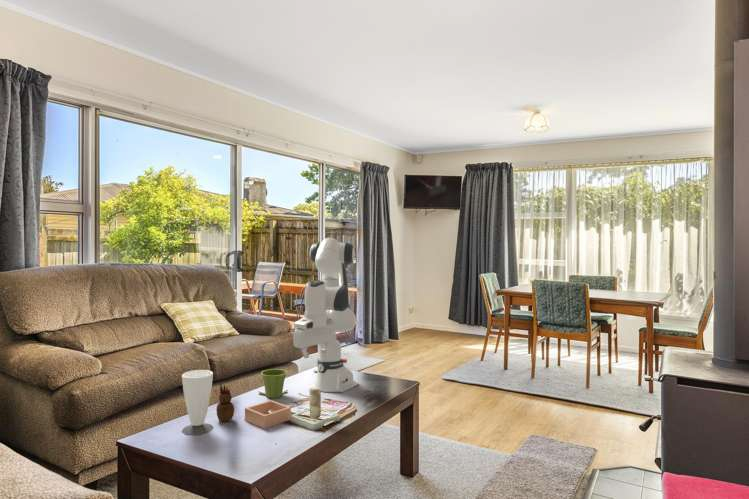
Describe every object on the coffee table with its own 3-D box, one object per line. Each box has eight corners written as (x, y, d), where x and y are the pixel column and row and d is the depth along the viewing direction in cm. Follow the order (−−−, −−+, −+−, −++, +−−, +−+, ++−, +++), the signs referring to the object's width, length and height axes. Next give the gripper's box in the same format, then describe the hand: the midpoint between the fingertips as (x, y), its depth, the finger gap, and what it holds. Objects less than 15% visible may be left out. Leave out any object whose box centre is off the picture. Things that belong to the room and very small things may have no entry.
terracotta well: (271, 411, 210) (271, 400, 210) (290, 419, 202) (290, 407, 202) (244, 420, 201) (244, 408, 201) (264, 428, 192) (264, 416, 192)
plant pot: (292, 395, 232) (292, 371, 231) (272, 402, 223) (272, 377, 222) (275, 390, 239) (276, 367, 239) (255, 396, 230) (255, 372, 230)
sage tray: (316, 412, 210) (316, 406, 210) (339, 420, 201) (339, 414, 201) (290, 421, 200) (290, 415, 200) (313, 430, 191) (313, 424, 191)
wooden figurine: (213, 422, 199) (213, 384, 198) (222, 417, 204) (222, 380, 204) (227, 424, 196) (227, 386, 196) (236, 419, 202) (236, 382, 201)
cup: (175, 432, 188) (174, 375, 187) (196, 421, 199) (196, 368, 198) (199, 437, 184) (199, 379, 183) (219, 426, 194) (219, 371, 194)
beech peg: (315, 415, 204) (315, 386, 203) (323, 418, 201) (323, 388, 200) (307, 418, 200) (307, 389, 200) (314, 421, 197) (314, 391, 197)
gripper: (328, 317, 209) (328, 349, 210) (290, 323, 194) (290, 358, 194) (339, 319, 205) (339, 352, 205) (301, 325, 190) (301, 361, 190)
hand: (315, 355), depth 200 cm, fingers open, 8 cm apart
